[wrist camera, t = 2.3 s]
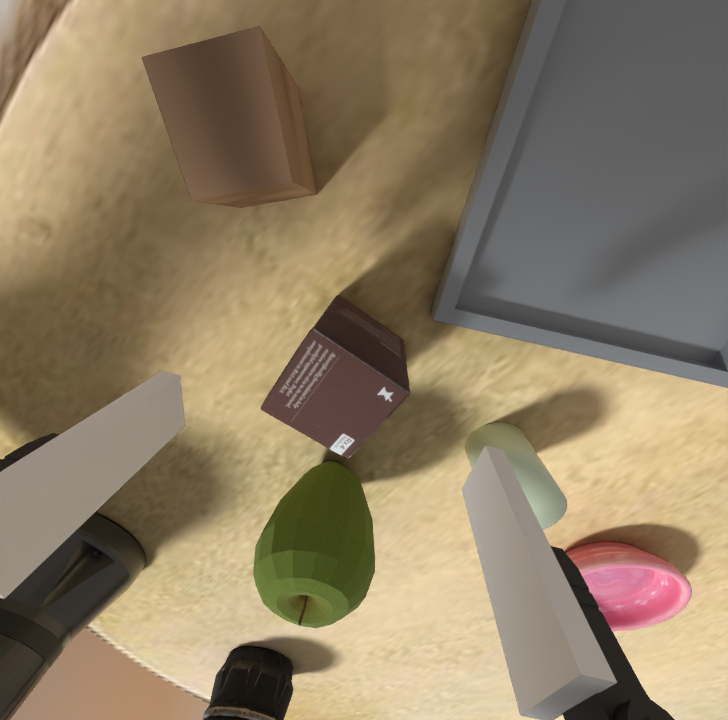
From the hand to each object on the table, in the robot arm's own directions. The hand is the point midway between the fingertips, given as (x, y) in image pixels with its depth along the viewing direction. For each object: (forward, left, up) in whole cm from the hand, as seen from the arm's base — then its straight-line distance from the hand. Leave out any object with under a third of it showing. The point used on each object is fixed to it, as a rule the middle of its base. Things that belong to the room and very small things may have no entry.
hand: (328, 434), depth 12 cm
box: (0, 0, -10) cm, 10 cm away
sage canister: (+14, -6, -10) cm, 18 cm away
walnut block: (-7, +11, -10) cm, 16 cm away
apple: (+1, -13, -10) cm, 17 cm away
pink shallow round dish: (+31, -19, -10) cm, 38 cm away
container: (-4, -61, -10) cm, 62 cm away
